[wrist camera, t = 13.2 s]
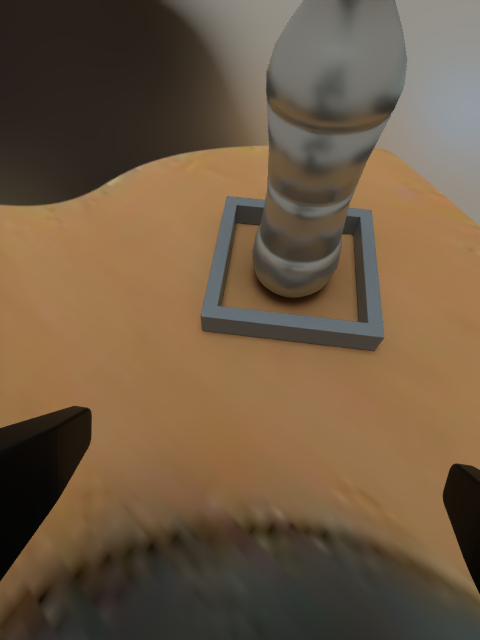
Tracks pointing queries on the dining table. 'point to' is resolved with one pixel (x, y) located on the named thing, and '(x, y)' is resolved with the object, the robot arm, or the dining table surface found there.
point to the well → (288, 325)
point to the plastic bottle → (323, 132)
